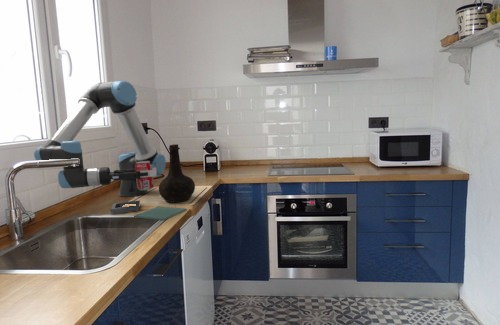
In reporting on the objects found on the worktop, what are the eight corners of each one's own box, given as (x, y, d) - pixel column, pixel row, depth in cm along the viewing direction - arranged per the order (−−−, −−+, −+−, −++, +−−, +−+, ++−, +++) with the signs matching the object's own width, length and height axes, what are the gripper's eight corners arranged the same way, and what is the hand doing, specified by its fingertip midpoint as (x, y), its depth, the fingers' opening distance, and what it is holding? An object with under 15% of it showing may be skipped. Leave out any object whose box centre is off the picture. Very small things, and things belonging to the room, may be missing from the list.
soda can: (147, 187, 163) (145, 160, 162) (157, 188, 159) (154, 161, 157) (133, 190, 158) (131, 162, 156) (143, 191, 153) (140, 163, 152)
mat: (158, 207, 169) (158, 206, 169) (186, 210, 162) (186, 208, 162) (133, 217, 155) (133, 215, 155) (163, 220, 148) (163, 218, 148)
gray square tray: (113, 207, 174) (113, 203, 174) (139, 204, 177) (139, 200, 177) (111, 214, 162) (110, 209, 162) (139, 210, 165) (138, 206, 165)
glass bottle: (167, 206, 170) (162, 147, 166) (154, 200, 185) (149, 145, 181) (202, 200, 180) (197, 143, 176) (187, 194, 195) (183, 142, 191)
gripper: (104, 181, 163) (157, 176, 168) (96, 189, 144) (156, 184, 149) (102, 164, 162) (155, 160, 167) (94, 170, 143) (155, 165, 148)
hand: (156, 171), depth 158 cm, fingers closed on soda can, 6 cm apart
